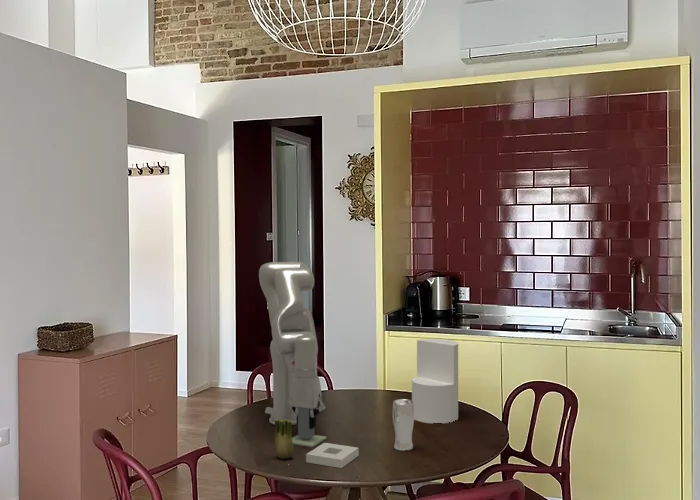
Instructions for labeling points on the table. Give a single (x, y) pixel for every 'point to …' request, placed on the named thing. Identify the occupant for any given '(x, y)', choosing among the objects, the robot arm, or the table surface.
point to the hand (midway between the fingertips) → (306, 426)
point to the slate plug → (304, 423)
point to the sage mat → (308, 440)
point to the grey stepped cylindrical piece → (436, 381)
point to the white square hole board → (332, 455)
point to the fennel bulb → (283, 439)
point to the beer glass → (403, 423)
